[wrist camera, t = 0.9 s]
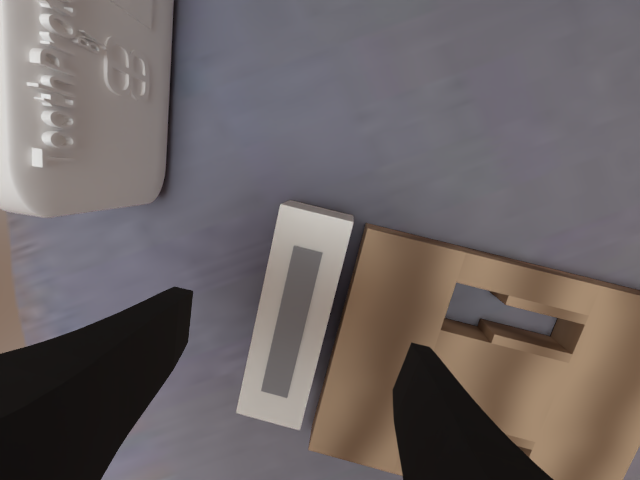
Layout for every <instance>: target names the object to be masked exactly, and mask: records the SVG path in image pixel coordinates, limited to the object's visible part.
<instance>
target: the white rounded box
mask: <svg viewBox="0 0 640 480" xmlns="http://www.w3.org/2000/svg"><path fill="white" fill-rule="evenodd" d="M173 6H174V0H0V209H2V210H4V211H7V212H11V213H18V214H24V215H31V216H37V217H44V218H51V217H58V216H65V215H72V214H79V213H86V212H93V211H100V210H108V209H115V208H122V207H129V206H136V205H143V204H149V203H152V202H153V201H154V200H155V199H156V198H157V196H158V195H159V193H160V191H161V188H162V185H163V182H164V177H165V170H166V153H167V132H168V111H169V90H170V69H171V48H172V27H173Z"/></svg>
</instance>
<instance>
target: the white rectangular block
mask: <svg viewBox="0 0 640 480" xmlns="http://www.w3.org/2000/svg"><path fill="white" fill-rule="evenodd" d="M353 223H354V218H353V215H349V214H345V213H341V212H337V211H333V210H329V209H325V208H321V207H316V206H312V205H308V204H304V203H300V202H296V201H292V200H289V201H287V202H284V203H282V204H280V208H279V213H278V218H277V222H276V227H275V232H274V236H273V241H272V246H271V251H270V255H269V260H268V265H267V269H266V274H265V279H264V284H263V288H262V293H261V298H260V302H259V307H258V312H257V317H256V321H255V326H254V331H253V335H252V340H251V345H250V350H249V354H248V359H247V364H246V368H245V373H244V378H243V383H242V387H241V392H240V397H239V401H238V406H237V411H236V413H238V414H242V415H245V416H249V417H252V418H256V419H260V420H263V421H267V422H271V423H274V424H278V425H282V426H285V427H289V428H293V429H296V430H300V428H301V424H302V420H303V417H304V413H305V409H306V405H307V401H308V397H309V393H310V390H311V386H312V382H313V378H314V374H315V370H316V366H317V362H318V359H319V355H320V351H321V347H322V343H323V339H324V335H325V331H326V328H327V324H328V320H329V316H330V312H331V308H332V304H333V300H334V297H335V293H336V289H337V285H338V281H339V277H340V273H341V269H342V266H343V262H344V258H345V254H346V250H347V246H348V242H349V238H350V235H351V231H352V227H353Z"/></svg>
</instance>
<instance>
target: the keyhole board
mask: <svg viewBox="0 0 640 480" xmlns="http://www.w3.org/2000/svg"><path fill="white" fill-rule="evenodd" d="M456 282H457V283H461V284H465V285H469V286H473V287H477V288H481V289H485V290H489V291H490V292H491V293H492V294H493V295H495V296H496V297H497V298H498V299H499V300H500V301H502V302H503V303H504V304H505V305H509V306H513V307H516V308H520V309H524V310H528V311H532V312H536V313H540V314H544V315H548V316H552V317H556V318H558V319H557V321H556V324H555V326H554V329H553V331H552V334H551V336H547V335H543V334H539V333H535V332H531V331H527V330H523V329H519V328H515V327H511V326H507V325H503V324H499V323H495V322H492V321H488V320H484V319H480V321H479V324H478V327H477V326H473V325H469V324H465V323H462V322H458V321H454V320H450V319H446V318H445V315H446V312H447V309H448V306H449V303H450V300H451V297H452V294H453V291H454V288H455V285H456ZM411 343H416V344H420V345H424V346H428V347H430V348H431V349H432V350H433V351H434V352H435V353H436V354H437V356H438V357H439V358H440V359H441V360H442V362H443V363H444V364H445V365H446V367H447V368H448V369H449V370H450V372H451V373H452V374H453V375H454V377H455V378H456V379H457V380H458V381H459V383H460V384H461V385H462V386H463V388H464V389H465V390H466V391H467V392H468V394H469V395H470V396H471V397H472V398H473V399H474V401H475V402H476V403H477V404H478V405H479V406H480V407H481V409H482V410H483V411H484V412H485V413H486V414H487V415H488V416H489V417H490V418H491V420H492V421H493V422H494V423H495V424H496V425H497V426H498V427H499V428H500V429H501V430H502V431H503V432H504V433H505V434H506V435H507V436H508V438H509V439H510V440H511V441H512V442H514V443H515V444H516V445H517V446H518V447H519V448H520V449H521V450H522V451H523V452H524V453H525V454H526V455H527V456H528V457H529V458H530V459H531V460H532V461H533V462H534V463H535V464H537V465H538V466H539V467H540V468H541V469H542V470H543V471H544V472H545V473H547V474H548V475H549V476H550V477H551V478H552V479H554V480H623V478H624V476H625V474H626V472H627V470H628V468H629V466H630V464H631V462H632V460H633V458H634V456H635V454H636V452H637V450H638V448H639V446H640V290H636V289H632V288H628V287H624V286H620V285H616V284H612V283H608V282H604V281H600V280H596V279H592V278H588V277H583V276H579V275H575V274H571V273H567V272H563V271H559V270H555V269H551V268H547V267H543V266H539V265H535V264H531V263H527V262H523V261H518V260H514V259H510V258H506V257H502V256H498V255H494V254H490V253H486V252H482V251H478V250H474V249H470V248H466V247H462V246H458V245H453V244H449V243H445V242H441V241H437V240H433V239H429V238H425V237H421V236H417V235H413V234H409V233H405V232H401V231H397V230H393V229H389V228H384V227H380V226H376V225H372V224H368V223H366V225H365V228H364V232H363V236H362V240H361V243H360V247H359V251H358V255H357V258H356V262H355V266H354V270H353V274H352V277H351V281H350V285H349V289H348V292H347V296H346V300H345V304H344V307H343V311H342V315H341V319H340V322H339V326H338V330H337V334H336V338H335V341H334V345H333V349H332V353H331V356H330V360H329V364H328V368H327V371H326V375H325V379H324V383H323V386H322V390H321V394H320V398H319V402H318V405H317V409H316V413H315V417H314V420H313V424H312V430H311V436H310V442H309V449H308V450H310V451H314V452H318V453H321V454H325V455H329V456H332V457H336V458H339V459H343V460H347V461H350V462H354V463H357V464H361V465H365V466H368V467H372V468H376V469H379V470H383V471H386V472H390V473H394V474H397V475H401V476H403V474H402V468H401V463H400V457H399V451H398V445H397V439H396V433H395V426H394V417H393V391H392V390H393V387H394V385H395V382H396V380H397V377H398V375H399V372H400V370H401V367H402V365H403V362H404V360H405V357H406V355H407V352H408V350H409V347H410V345H411Z"/></svg>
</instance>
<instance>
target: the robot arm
mask: <svg viewBox="0 0 640 480" xmlns="http://www.w3.org/2000/svg"><path fill="white" fill-rule="evenodd" d="M192 297H193V291H191V290H187V289H183V288H178V287H173V288H170V289H168V290H166V291H163V292H161V293H159V294H157V295H155V296H153V297H151V298H149V299H147V300H145V301H143V302H140V303H138V304H136V305H134V306H132V307H130V308H128V309H125V310H123V311H121V312H119V313H117V314H114V315H112V316H110V317H107V318H105V319H102V320H100V321H98V322H95V323H93V324H90V325H88V326H86V327H83V328H81V329H78V330H75V331H73V332H70V333H67V334H64V335H62V336H59V337H56V338H53V339H50V340H47V341H44V342H41V343H37V344H34V345H31V346H27V347H24V348H20V349H17V350H13V351H9V352H6V353H2V354H0V480H101V478H102V477H103V475H104V473H105V471H106V470H107V468H108V466H109V464H110V463H111V461H112V459H113V458H114V456H115V454H116V452H117V451H118V449H119V447H120V446H121V444H122V443H123V441H124V440H125V438H126V437H127V435H128V434H129V432H130V431H131V429H132V428H133V426H134V425H135V424H136V422H137V421H138V419H139V418H140V417H141V415H142V414H143V412H144V411H145V410H146V408H147V407H148V405H149V404H150V402H151V401H152V400H153V398H154V397H155V395H156V394H157V393H158V391H159V390H160V388H161V387H162V385H163V384H164V383H165V381H166V380H167V378H168V377H169V375H170V374H171V372H172V371H173V369H174V368H175V366H176V364H177V362H178V360H179V358H180V357H181V355H182V353H183V351H184V349H185V347H186V345H187V343H188V337H189V327H190V317H191V307H192ZM392 391H393V417H394V426H395V433H396V439H397V445H398V451H399V457H400V463H401V468H402V474H403V480H554V479H552V478H551V477H550V476H549V475H548V474H547V473H545V472H544V471H543V470H542V469H541V468H540V467H539V466H538V465H537V464H535V463H534V462H533V461H532V460H531V459H530V458H529V457H528V456H527V455H526V454H525V453H524V452H523V451H522V450H521V449H520V448H519V447H518V446H517V445H516V444H515V443H514V442H512V441H511V440H510V439H509V438H508V436H507V435H506V434H505V433H504V432H503V431H502V430H501V429H500V428H499V427H498V426H497V425H496V424H495V423H494V422H493V421H492V420H491V418H490V417H489V416H488V415H487V414H486V413H485V412H484V411H483V410H482V409H481V407H480V406H479V405H478V404H477V403H476V402H475V401H474V399H473V398H472V397H471V396H470V395H469V394H468V392H467V391H466V390H465V389H464V388H463V386H462V385H461V384H460V383H459V381H458V380H457V379H456V378H455V377H454V375H453V374H452V373H451V372H450V370H449V369H448V368H447V367H446V365H445V364H444V363H443V362H442V360H441V359H440V358H439V357H438V356H437V354H436V353H435V352H434V351H433V350H432V349H431V348H430V347H428V346H424V345H420V344H416V343H411V345H410V347H409V350H408V352H407V355H406V357H405V360H404V362H403V365H402V367H401V370H400V372H399V375H398V377H397V380H396V382H395V385H394V387H393V390H392Z"/></svg>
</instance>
